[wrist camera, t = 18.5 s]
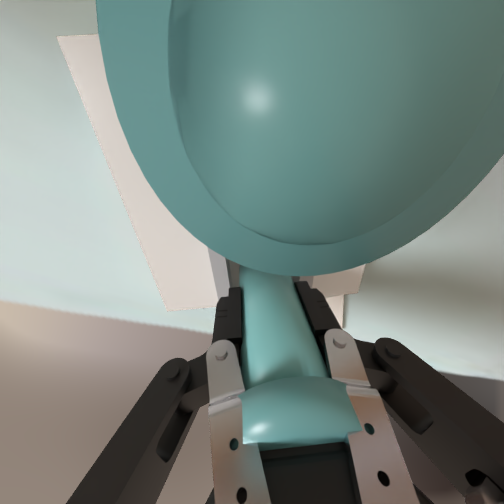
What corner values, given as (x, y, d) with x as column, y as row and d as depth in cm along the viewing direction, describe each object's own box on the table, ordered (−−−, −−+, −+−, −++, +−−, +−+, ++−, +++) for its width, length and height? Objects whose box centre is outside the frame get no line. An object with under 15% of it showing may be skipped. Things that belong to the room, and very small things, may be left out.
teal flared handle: (205, 75, 9) (-102, -526, 1) (303, 69, 10) (882, -523, 1) (220, 179, 12) (176, 288, 3) (297, 173, 12) (450, 263, 3)
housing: (173, 295, 19) (160, 328, 16) (86, 53, 10) (15, 13, 7) (346, 279, 19) (369, 308, 16) (403, 33, 11) (478, -14, 7)
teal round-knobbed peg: (227, 245, 13) (209, 438, 5) (296, 239, 14) (398, 417, 5) (234, 297, 16) (232, 486, 7) (293, 291, 16) (358, 471, 7)
